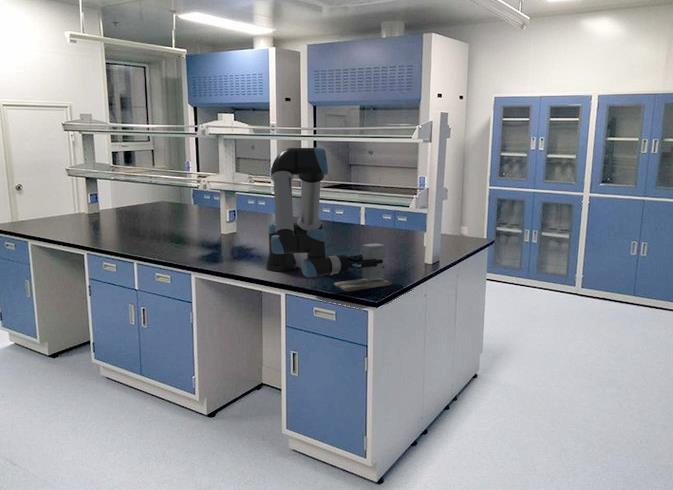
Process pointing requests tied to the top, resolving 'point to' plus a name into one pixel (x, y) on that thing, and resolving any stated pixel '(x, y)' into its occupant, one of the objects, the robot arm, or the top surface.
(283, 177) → the robot arm
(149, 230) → the top surface
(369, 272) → the skincare box
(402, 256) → the top surface
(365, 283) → the board
